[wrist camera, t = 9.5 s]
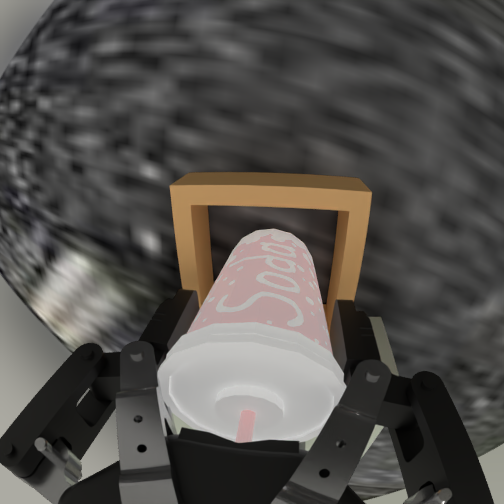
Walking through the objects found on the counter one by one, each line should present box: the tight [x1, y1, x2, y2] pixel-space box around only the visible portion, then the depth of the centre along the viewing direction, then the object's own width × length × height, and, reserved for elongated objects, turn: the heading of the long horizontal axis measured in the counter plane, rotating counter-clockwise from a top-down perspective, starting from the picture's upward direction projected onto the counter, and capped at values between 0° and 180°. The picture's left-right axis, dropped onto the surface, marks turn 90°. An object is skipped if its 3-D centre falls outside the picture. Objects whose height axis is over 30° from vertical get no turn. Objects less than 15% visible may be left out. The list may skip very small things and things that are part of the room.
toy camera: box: [170, 172, 399, 458], centre depth 16 cm, size 19×16×10 cm
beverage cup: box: [158, 229, 346, 443], centre depth 10 cm, size 6×6×14 cm
